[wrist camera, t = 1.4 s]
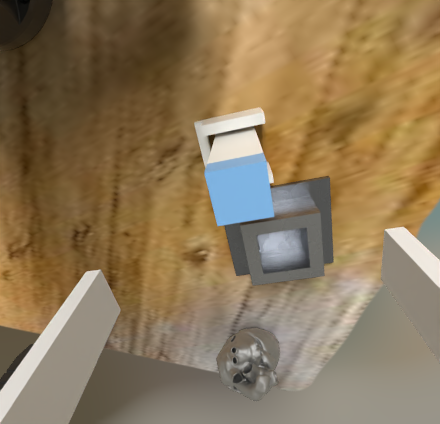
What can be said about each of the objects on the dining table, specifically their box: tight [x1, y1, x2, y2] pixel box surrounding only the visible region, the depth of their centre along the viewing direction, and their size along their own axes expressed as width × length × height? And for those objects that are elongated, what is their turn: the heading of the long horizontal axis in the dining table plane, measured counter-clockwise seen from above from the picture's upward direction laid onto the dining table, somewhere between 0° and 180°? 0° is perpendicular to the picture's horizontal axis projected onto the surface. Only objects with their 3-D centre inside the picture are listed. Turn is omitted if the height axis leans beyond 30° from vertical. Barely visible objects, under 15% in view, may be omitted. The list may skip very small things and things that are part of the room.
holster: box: [194, 107, 274, 183], centre depth 29 cm, size 7×7×4 cm
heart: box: [216, 328, 280, 401], centre depth 39 cm, size 10×10×12 cm
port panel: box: [224, 176, 333, 285], centre depth 33 cm, size 12×13×5 cm
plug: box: [204, 126, 274, 226], centre depth 25 cm, size 4×4×14 cm
